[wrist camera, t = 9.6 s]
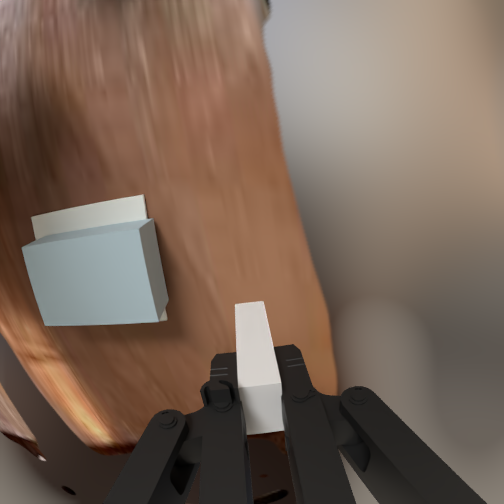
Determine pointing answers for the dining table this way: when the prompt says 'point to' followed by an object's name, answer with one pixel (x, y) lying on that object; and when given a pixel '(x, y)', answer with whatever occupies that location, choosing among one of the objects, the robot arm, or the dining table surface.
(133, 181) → the dining table surface
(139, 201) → the mat
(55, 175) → the dining table surface
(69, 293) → the slab
